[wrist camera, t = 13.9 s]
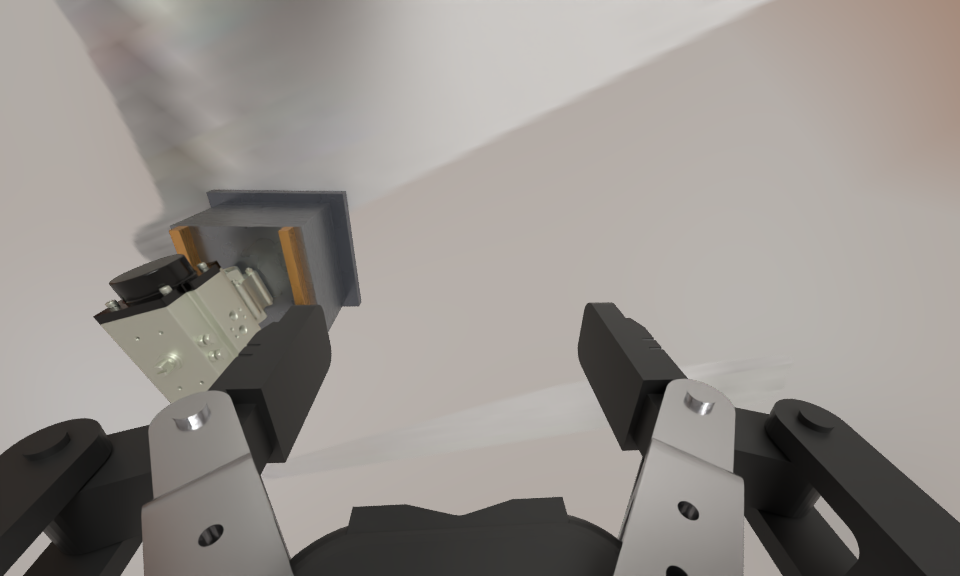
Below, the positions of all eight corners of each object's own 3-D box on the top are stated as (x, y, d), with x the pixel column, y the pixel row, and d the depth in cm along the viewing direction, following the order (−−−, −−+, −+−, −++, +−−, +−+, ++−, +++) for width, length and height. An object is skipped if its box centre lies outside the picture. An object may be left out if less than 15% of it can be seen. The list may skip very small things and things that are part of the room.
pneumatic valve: (259, 342, 37) (181, 439, 27) (189, 238, 32) (57, 306, 21) (309, 329, 37) (251, 422, 26) (248, 221, 32) (143, 283, 21)
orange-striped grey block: (213, 189, 39) (135, 218, 30) (345, 191, 40) (312, 219, 31) (250, 312, 46) (197, 367, 37) (362, 310, 47) (339, 364, 38)
